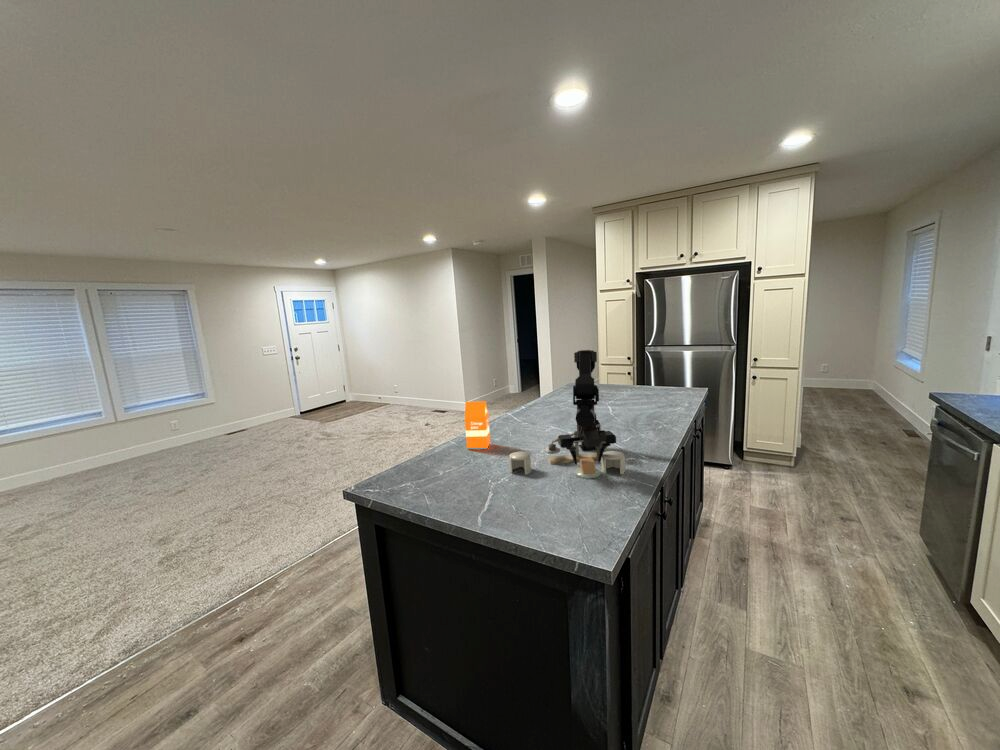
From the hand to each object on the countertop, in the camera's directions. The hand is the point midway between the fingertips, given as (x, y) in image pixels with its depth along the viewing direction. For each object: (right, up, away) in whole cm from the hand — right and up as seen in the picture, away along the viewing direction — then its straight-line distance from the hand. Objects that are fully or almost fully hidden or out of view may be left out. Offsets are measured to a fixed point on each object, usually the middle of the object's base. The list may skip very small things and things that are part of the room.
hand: (587, 463), depth 136 cm
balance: (-1, -2, +14) cm, 14 cm away
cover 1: (-22, -4, +6) cm, 24 cm away
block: (0, -3, 0) cm, 3 cm away
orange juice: (-39, -1, +35) cm, 52 cm away
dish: (0, -4, 0) cm, 4 cm away
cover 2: (+9, -3, +1) cm, 10 cm away
